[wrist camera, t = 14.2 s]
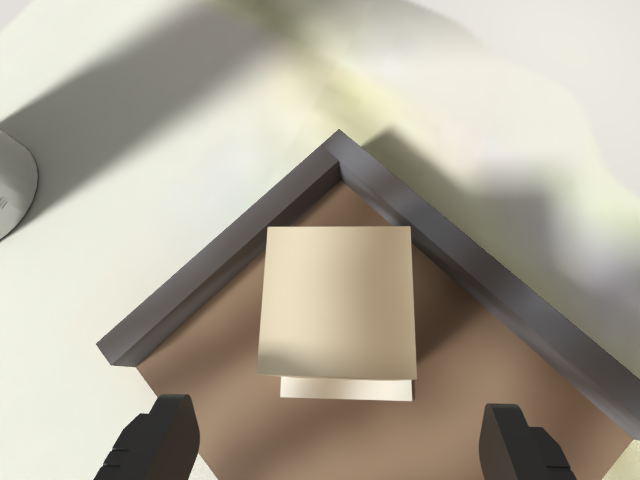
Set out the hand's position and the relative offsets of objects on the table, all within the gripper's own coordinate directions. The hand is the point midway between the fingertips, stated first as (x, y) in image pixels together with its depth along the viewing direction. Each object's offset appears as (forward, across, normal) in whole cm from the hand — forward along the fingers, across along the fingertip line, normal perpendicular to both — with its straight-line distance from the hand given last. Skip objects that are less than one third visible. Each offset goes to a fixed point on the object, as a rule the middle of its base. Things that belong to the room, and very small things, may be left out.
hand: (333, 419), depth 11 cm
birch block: (+10, 0, +5) cm, 12 cm away
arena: (+10, -1, +8) cm, 13 cm away
